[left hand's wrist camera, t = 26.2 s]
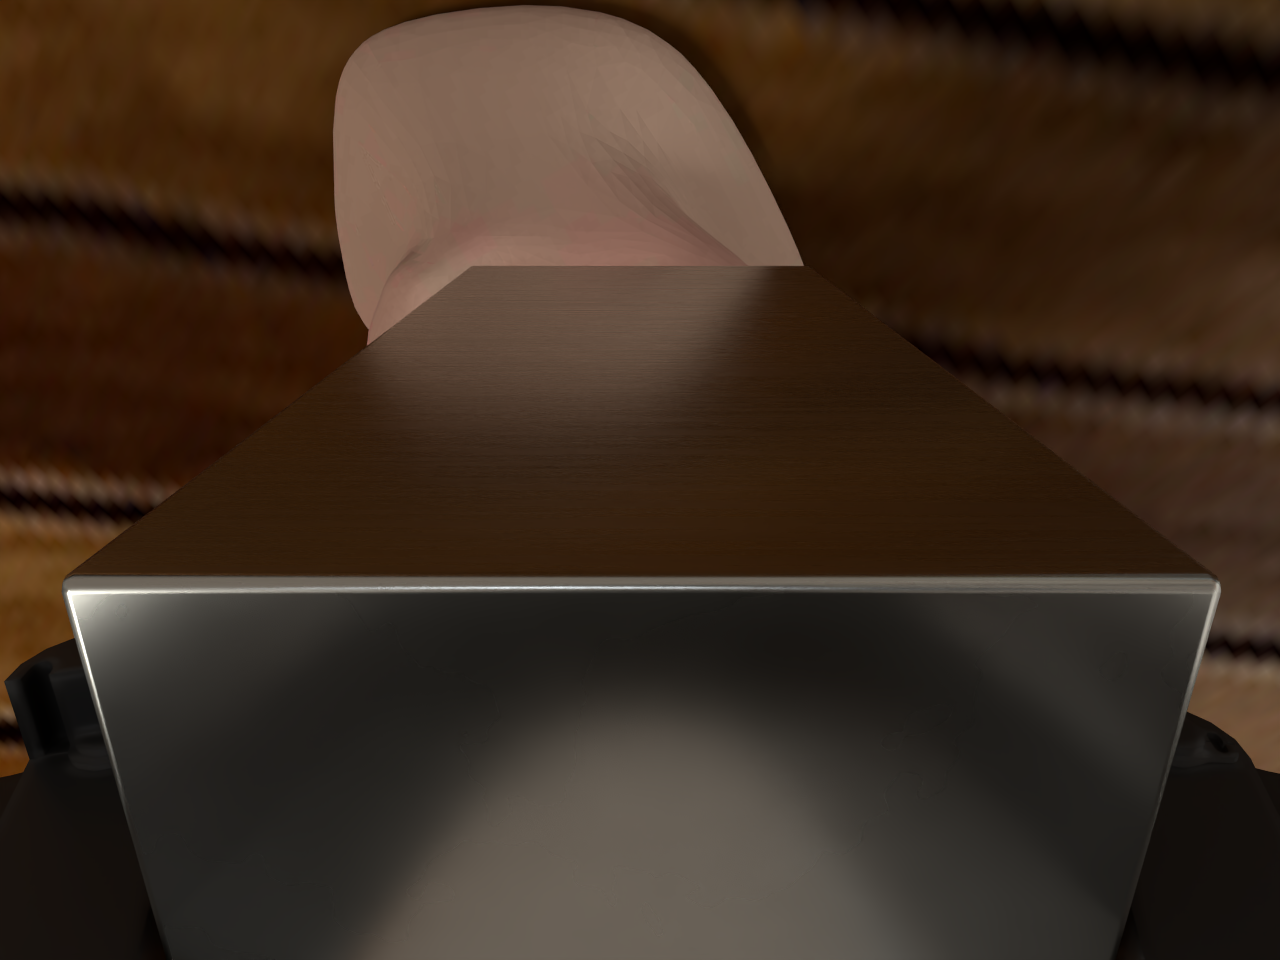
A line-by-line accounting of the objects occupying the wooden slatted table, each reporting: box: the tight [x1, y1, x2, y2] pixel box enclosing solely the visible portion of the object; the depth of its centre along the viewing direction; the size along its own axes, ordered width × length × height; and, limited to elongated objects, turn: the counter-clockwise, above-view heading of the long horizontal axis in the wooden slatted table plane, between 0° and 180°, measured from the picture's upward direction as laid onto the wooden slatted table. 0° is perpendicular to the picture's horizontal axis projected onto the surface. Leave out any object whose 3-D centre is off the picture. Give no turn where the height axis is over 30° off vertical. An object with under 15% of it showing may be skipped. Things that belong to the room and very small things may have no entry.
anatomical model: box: [333, 5, 804, 345], centre depth 21 cm, size 13×4×12 cm
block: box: [62, 266, 1221, 960], centre depth 11 cm, size 6×8×12 cm
